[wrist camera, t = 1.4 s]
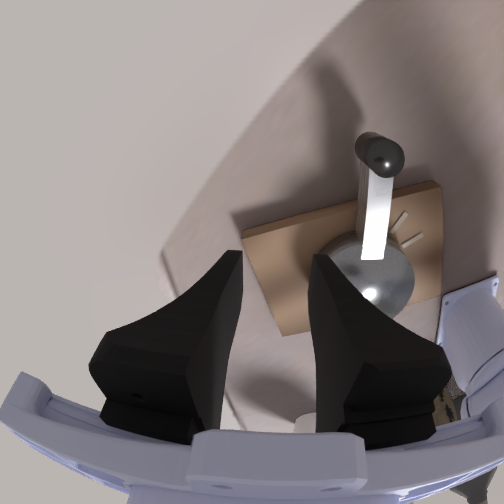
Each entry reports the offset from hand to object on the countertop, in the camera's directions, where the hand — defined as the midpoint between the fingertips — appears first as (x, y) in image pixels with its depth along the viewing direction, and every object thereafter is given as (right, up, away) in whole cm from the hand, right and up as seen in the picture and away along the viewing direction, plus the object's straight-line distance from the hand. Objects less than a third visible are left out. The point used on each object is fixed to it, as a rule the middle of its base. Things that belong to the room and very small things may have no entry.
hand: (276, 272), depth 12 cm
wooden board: (+8, 0, +11) cm, 14 cm away
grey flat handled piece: (+7, +2, +8) cm, 11 cm away
